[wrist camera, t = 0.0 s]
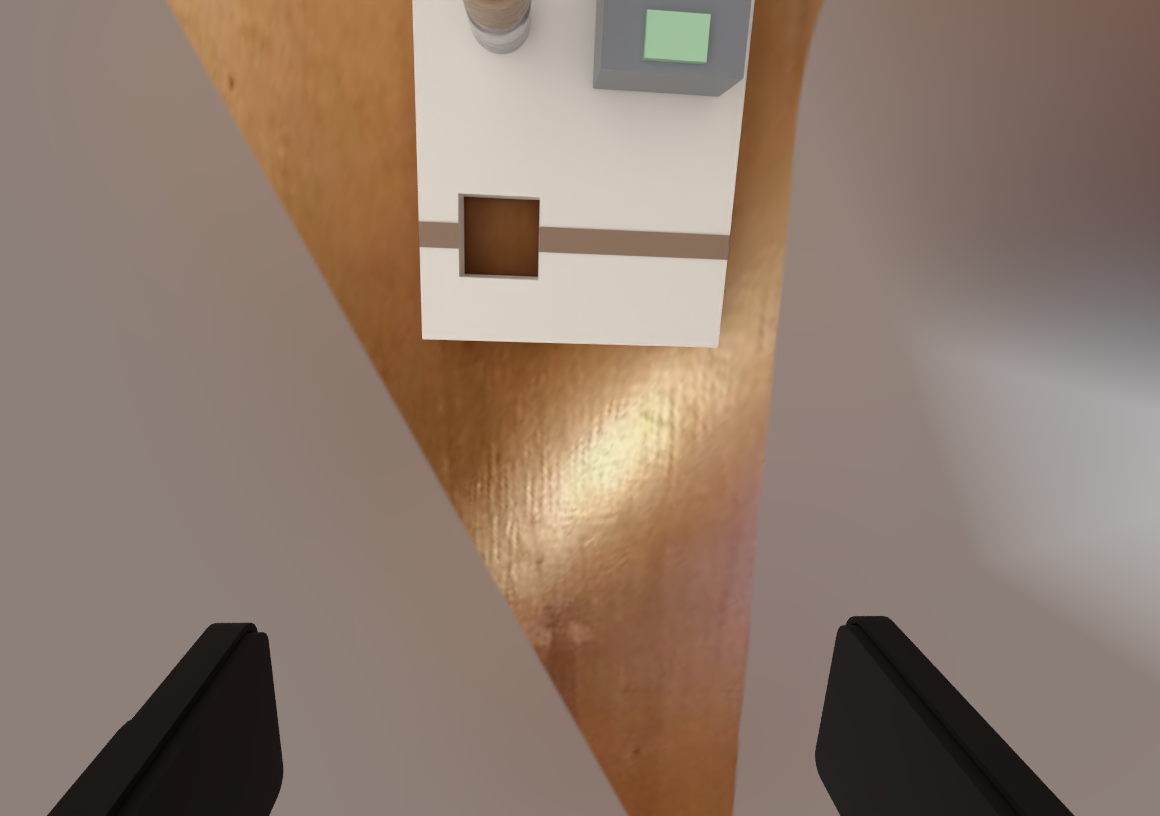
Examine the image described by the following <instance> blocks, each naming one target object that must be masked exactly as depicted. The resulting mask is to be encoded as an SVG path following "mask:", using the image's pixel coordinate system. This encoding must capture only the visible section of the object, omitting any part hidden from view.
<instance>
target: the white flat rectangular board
mask: <svg viewBox="0 0 1160 816" xmlns="http://www.w3.org/2000/svg"><path fill="white" fill-rule="evenodd" d="M412 1H413V35H414V69H415V104H416V138H417V172H418V206H419V247H420V274H421V308H422V339H436V340H471V341H505V342H540V343H575V344H609V345H644V346H679V347H713V348H718V342H719V333H720V323H721V314H722V304H723V295H724V285H725V276H726V267H727V260H728V253H729V243H730V229H731V219H732V210H733V200H734V191H735V181H736V172H737V163H738V153H739V144H740V134H741V125H742V115H743V106H744V96H745V87H746V77H747V68H748V58H749V49H750V40H751V30H752V21H753V11H754V2H755V0H751V10H750V20H749V29H748V39H747V48H746V58H745V67H744V77H743V79H742V80H741V81H739V82H738V83H737V84H735V85H734V86H733V87H731V88H730V89H729V90H727V91H726V92H725V93H723V94H722V95H721V96H719V97H717V96H701V95H686V94H671V93H655V92H640V91H624V90H609V89H594V88H593V72H594V49H595V26H596V3H597V0H531V27H530V32H529V35H528V37H527V39H526V41H525V42H524V44H523V45H522V46H521V47H520V48H519V49H517V50H516V51H514V52H511V53H508V54H496V53H493V52H490V51H488V50H487V49H485V48H484V47H482V46H481V45H480V44H479V42H478V41H477V40H476V38H475V37H474V35H473V32H472V30H471V26H470V23H469V20H468V16H467V13H466V9H465V6H464V3H463V0H412ZM464 197H482V198H503V199H523V200H540V207H539V251H538V277H533V276H507V275H481V274H465V261H464Z"/></svg>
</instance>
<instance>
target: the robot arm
mask: <svg viewBox="0 0 1160 816" xmlns="http://www.w3.org/2000/svg"><path fill="white" fill-rule="evenodd" d="M815 760H816V766H817V770H818V773H819V776H820V778H821V780H822V782H823V784H824V786H825V787H826V789H827V791H828V793H829V795H830V797H831V799H832V801H833V803H834V804H835V806H836V808H837V810H838V812H839V814H840V816H1074V815H1073V814H1072V813H1071V812H1070V811H1069V809H1067V807H1066V806H1065V805H1064V804H1063V803H1062V802H1061V801H1060V800H1059V799H1058V798H1057V797H1056V796H1055V794H1054V793H1053V792H1052V791H1051V790H1050V789H1049V788H1048V787H1047V786H1046V785H1045V784H1044V783H1043V782H1042V781H1041V780H1040V778H1039V777H1038V776H1037V775H1036V774H1035V773H1034V772H1033V771H1032V770H1031V769H1030V768H1029V767H1028V766H1027V765H1026V763H1024V761H1023V760H1022V759H1021V758H1020V757H1019V756H1018V755H1017V754H1016V753H1015V752H1014V751H1013V750H1012V749H1011V747H1010V746H1009V745H1008V744H1007V743H1006V742H1005V741H1004V740H1003V739H1002V738H1001V737H1000V736H999V735H998V733H996V732H995V730H994V729H993V728H992V727H991V726H990V725H989V724H988V723H987V722H986V721H985V720H984V719H983V717H982V716H980V714H979V713H978V712H977V711H976V710H975V709H974V708H973V707H972V706H971V705H970V704H969V702H968V701H967V700H966V699H965V698H964V697H963V696H962V695H961V694H960V693H959V692H958V691H957V690H956V689H955V687H954V686H952V684H951V683H950V682H949V681H948V680H947V679H946V678H945V677H944V676H943V675H942V674H941V673H940V671H939V670H938V669H937V668H936V667H935V666H934V665H933V664H932V663H931V662H930V661H929V660H928V659H927V658H926V657H925V655H924V654H923V653H922V652H921V651H920V650H919V649H918V648H917V647H916V646H915V645H914V644H913V642H911V640H910V639H909V638H908V637H907V636H906V635H905V634H904V633H903V632H902V631H901V630H900V629H899V628H898V627H897V626H896V624H895V623H894V622H893V621H892V620H890V619H889V618H888V617H885V616H854V617H851V618H849V620H848V621H847V623H846V625H843V626H840V628H839V629H838V632H837V636H836V641H835V647H834V652H833V658H832V663H831V668H830V674H829V679H828V685H827V691H826V696H825V702H824V707H823V712H822V717H821V723H820V728H819V734H818V740H817V745H816V751H815ZM282 779H283V762H282V752H281V744H280V735H279V727H278V717H277V709H276V700H275V692H274V683H273V675H272V666H271V657H270V648H269V640H268V636H267V635H266V633H264V632H258V631H257V628H256V626H255V624H253V623H214V624H211V625H210V626H209V627H208V628H207V629H206V630H205V631H204V633H203V634H202V635H201V636H200V637H199V639H198V640H197V641H196V642H195V643H194V645H193V646H192V647H191V648H190V649H189V651H188V652H187V653H186V654H185V656H184V657H183V658H182V659H181V660H180V662H179V663H178V664H177V666H176V667H175V668H174V669H173V670H172V671H171V672H170V674H169V675H168V676H167V677H166V679H165V680H164V681H163V682H162V683H161V685H160V686H159V687H158V688H157V690H156V691H155V692H154V693H153V694H152V696H151V697H150V698H149V699H148V700H147V702H146V703H145V704H144V705H143V706H142V708H141V709H140V710H139V711H138V712H137V714H136V715H135V716H134V717H133V718H132V720H130V721H128V722H127V723H126V724H125V725H123V726H122V727H121V728H120V729H119V730H118V731H117V733H116V734H115V735H114V736H113V737H112V739H111V740H110V741H109V742H108V743H107V745H106V746H105V747H104V748H103V749H102V751H101V752H100V753H99V754H98V755H97V756H96V758H95V759H94V760H93V761H92V762H91V764H90V765H89V766H88V767H87V769H86V770H85V771H84V772H83V773H82V774H81V776H80V777H79V778H78V779H77V781H76V782H75V783H74V784H73V785H72V786H71V788H70V789H69V790H68V791H67V792H66V794H65V795H64V796H63V797H62V798H61V800H60V801H59V802H58V803H57V805H56V806H55V807H54V808H53V809H52V810H51V812H50V813H49V814H48V815H47V816H269V815H270V813H271V810H272V808H273V806H274V804H275V801H276V799H277V797H278V794H279V791H280V788H281V784H282Z"/></svg>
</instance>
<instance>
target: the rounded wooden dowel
mask: <svg viewBox="0 0 1160 816" xmlns="http://www.w3.org/2000/svg"><path fill="white" fill-rule="evenodd" d="M463 3H464V6H465V9H466V13H467V16H468V20H469V23H470V26H471V30H472V32H473V35H474V37H475V38H476V40H477V41H478V42H479V44H480V45H481V46H482V47H484V48H485V49H487V50H488V51H490V52H493V53H496V54H508V53H511V52H514V51H516V50H517V49H519V48H520V47H521V46H522V45H523V44H524V42H525V41H526V39H527V37H528V35H529V32H530V27H531V0H463Z"/></svg>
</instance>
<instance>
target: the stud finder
mask: <svg viewBox="0 0 1160 816" xmlns="http://www.w3.org/2000/svg"><path fill="white" fill-rule="evenodd" d="M750 10H751V0H597V3H596V26H595V49H594V72H593V88H594V89H609V90H624V91H640V92H655V93H671V94H686V95H701V96H717V97H719V96H721V95H722V94H723V93H725V92H726V91H727V90H729V89H730V88H731V87H733V86H734V85H735V84H737V83H738V82H739V81H741V80H742V79H743V77H744V67H745V58H746V48H747V39H748V29H749V20H750Z"/></svg>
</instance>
